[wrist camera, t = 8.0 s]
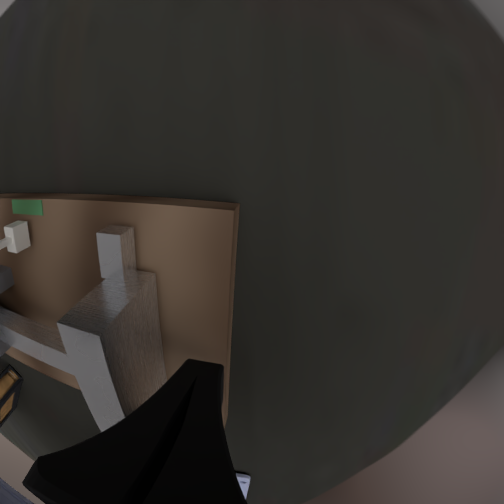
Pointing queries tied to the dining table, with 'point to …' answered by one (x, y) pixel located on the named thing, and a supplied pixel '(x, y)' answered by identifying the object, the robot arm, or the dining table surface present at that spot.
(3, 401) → the ammunition clip
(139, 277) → the grey angular piece
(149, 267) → the frame
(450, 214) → the dining table surface
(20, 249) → the rod
